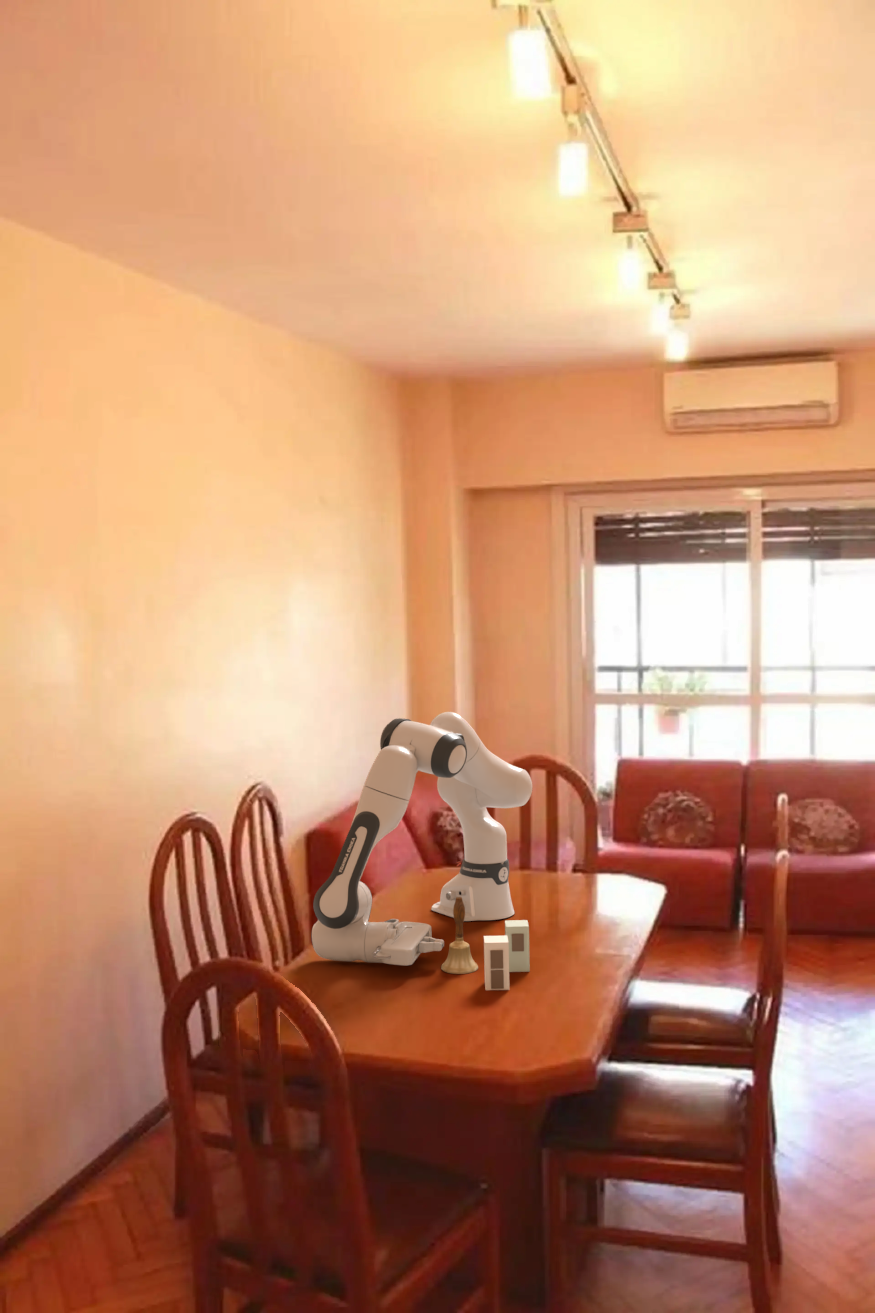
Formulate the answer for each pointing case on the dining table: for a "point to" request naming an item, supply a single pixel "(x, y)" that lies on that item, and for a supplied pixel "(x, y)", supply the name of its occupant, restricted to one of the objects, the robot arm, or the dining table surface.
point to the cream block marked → (496, 962)
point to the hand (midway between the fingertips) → (442, 945)
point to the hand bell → (459, 946)
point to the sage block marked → (518, 945)
